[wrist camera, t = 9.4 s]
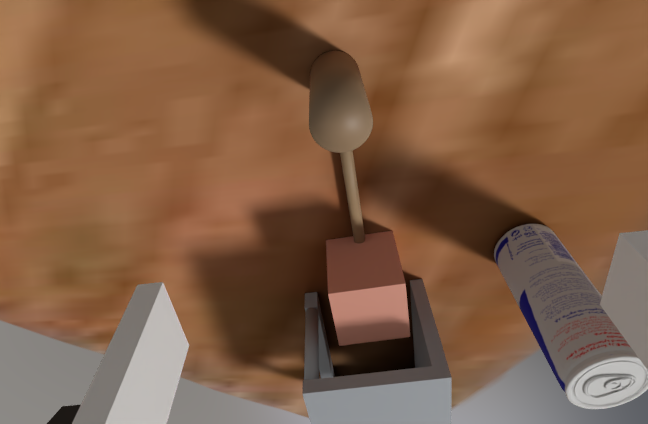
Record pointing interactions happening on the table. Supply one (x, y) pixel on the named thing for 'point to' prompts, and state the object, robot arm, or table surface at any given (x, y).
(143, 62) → the table surface
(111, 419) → the robot arm
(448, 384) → the box
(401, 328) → the block
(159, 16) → the table surface
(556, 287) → the beverage can
